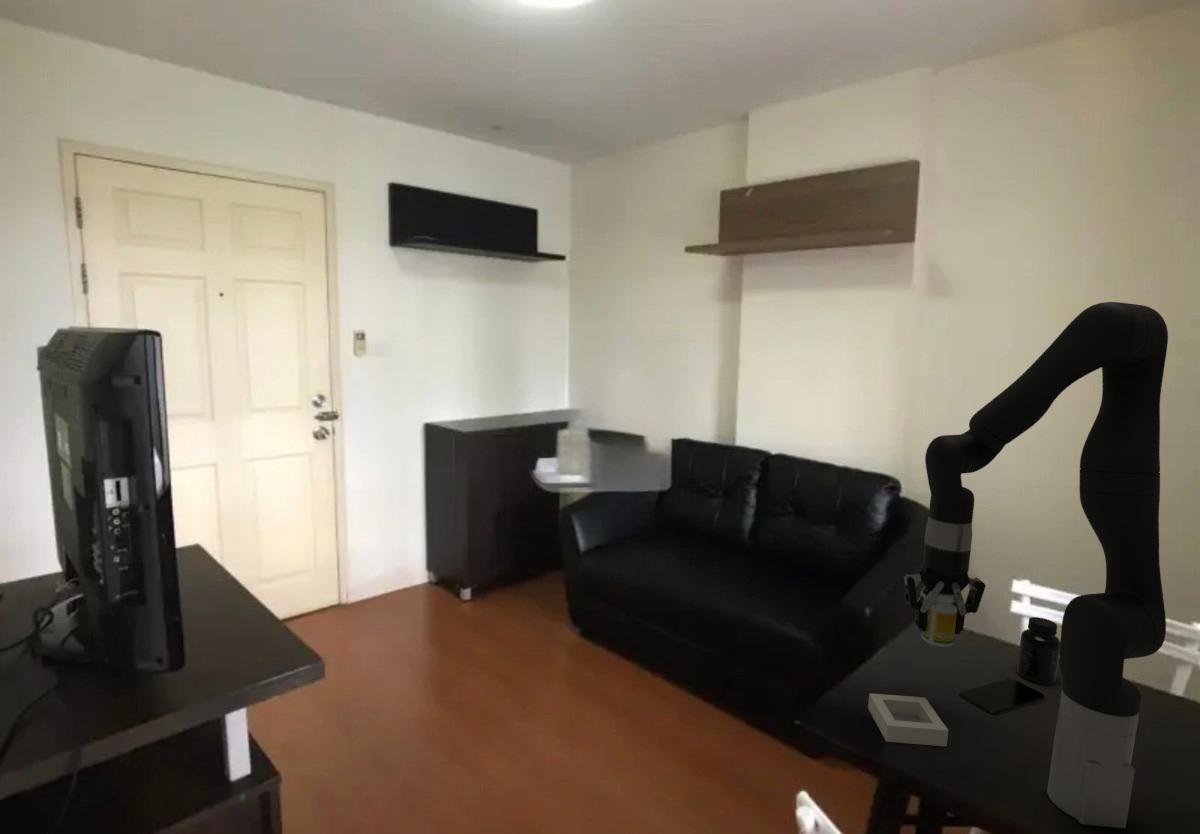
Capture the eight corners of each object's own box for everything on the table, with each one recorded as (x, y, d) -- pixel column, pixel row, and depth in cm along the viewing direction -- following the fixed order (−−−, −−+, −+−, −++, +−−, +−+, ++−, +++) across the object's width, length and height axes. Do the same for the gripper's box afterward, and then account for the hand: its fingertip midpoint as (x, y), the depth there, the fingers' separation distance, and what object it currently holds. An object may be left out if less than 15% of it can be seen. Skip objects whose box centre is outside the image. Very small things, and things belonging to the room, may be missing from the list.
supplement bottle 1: (916, 639, 124) (920, 590, 123) (929, 631, 128) (934, 583, 126) (945, 650, 120) (950, 599, 119) (958, 642, 123) (964, 593, 122)
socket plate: (946, 746, 114) (948, 730, 113) (886, 741, 114) (887, 725, 114) (923, 712, 124) (925, 697, 123) (868, 708, 124) (869, 693, 124)
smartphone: (993, 718, 123) (1048, 700, 130) (993, 714, 123) (1049, 696, 130) (955, 696, 130) (1009, 680, 137) (955, 692, 130) (1009, 676, 137)
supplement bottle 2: (1045, 670, 141) (1052, 616, 139) (1062, 687, 134) (1070, 631, 132) (1010, 666, 142) (1017, 613, 140) (1025, 683, 135) (1033, 627, 133)
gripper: (914, 547, 118) (905, 637, 121) (999, 552, 117) (988, 643, 119) (899, 534, 126) (891, 619, 128) (979, 539, 124) (970, 625, 126)
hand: (938, 630), depth 123 cm, fingers closed on supplement bottle 1, 5 cm apart
